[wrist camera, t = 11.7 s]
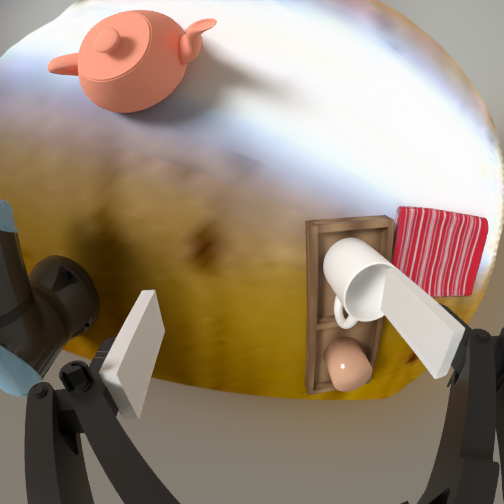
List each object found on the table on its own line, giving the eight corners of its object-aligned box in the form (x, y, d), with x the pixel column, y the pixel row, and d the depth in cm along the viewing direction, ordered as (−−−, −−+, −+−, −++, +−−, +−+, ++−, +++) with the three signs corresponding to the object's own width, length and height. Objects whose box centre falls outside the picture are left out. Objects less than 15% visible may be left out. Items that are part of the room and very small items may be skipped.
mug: (350, 309, 45) (373, 347, 35) (305, 301, 44) (321, 340, 34) (378, 243, 41) (412, 270, 31) (332, 229, 40) (359, 254, 30)
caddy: (304, 384, 52) (307, 395, 49) (305, 221, 41) (310, 226, 38) (365, 373, 52) (369, 382, 49) (385, 215, 41) (394, 219, 38)
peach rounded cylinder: (322, 368, 49) (331, 394, 43) (324, 340, 47) (335, 366, 40) (356, 361, 49) (368, 386, 43) (361, 333, 47) (375, 357, 40)
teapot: (223, 15, 29) (218, -29, 18) (222, 107, 35) (214, 88, 23) (85, 39, 29) (44, 15, 17) (79, 125, 34) (30, 122, 22)
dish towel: (464, 293, 48) (471, 299, 45) (376, 299, 46) (382, 306, 44) (484, 216, 42) (492, 219, 39) (395, 203, 41) (403, 206, 38)
